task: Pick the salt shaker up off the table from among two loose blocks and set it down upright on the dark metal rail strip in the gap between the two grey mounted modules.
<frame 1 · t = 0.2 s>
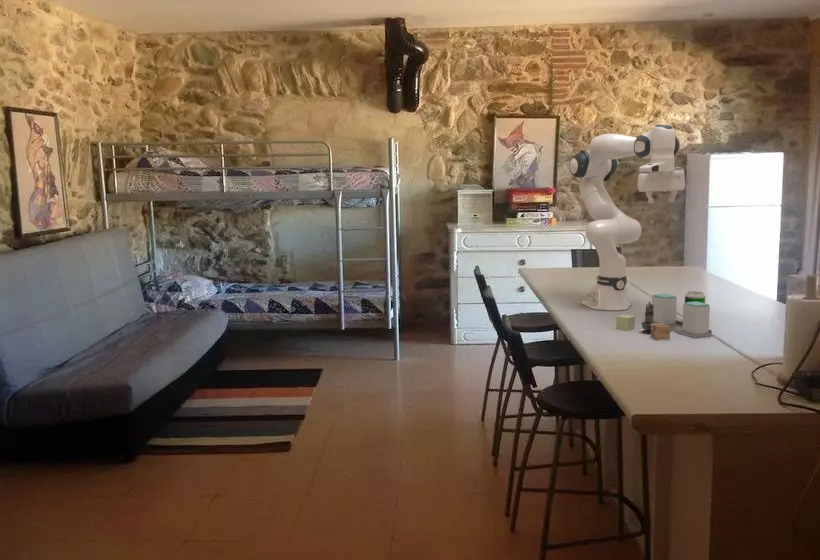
hand: (661, 202, 295), 47 cm above the table, tool pointing down, fingers open, 8 cm apart
block walnut: (660, 338, 275), on the table
rail: (678, 329, 288), on the table
soda can: (693, 322, 300), on the table
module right: (695, 334, 280), resting on rail
block olive: (625, 328, 291), on the table
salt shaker: (648, 333, 284), on the table
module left: (663, 325, 296), resting on rail
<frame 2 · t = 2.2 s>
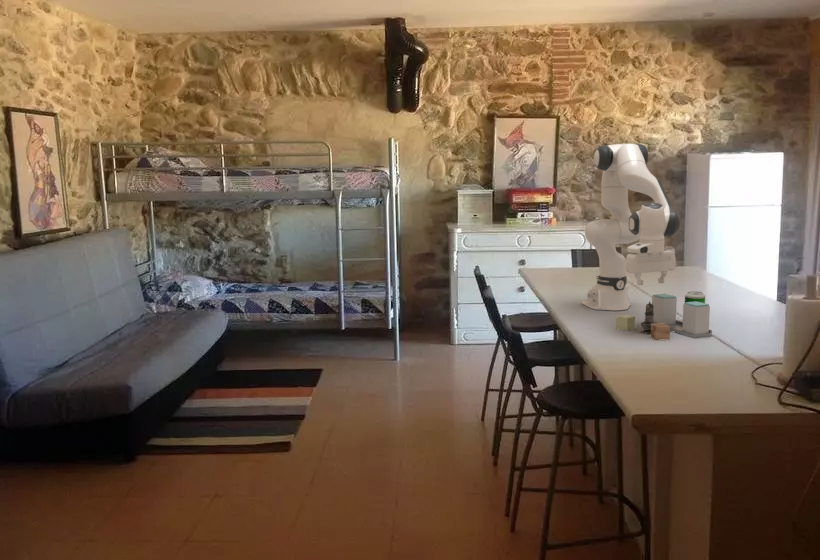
hand: (650, 283, 281), 19 cm above the table, tool pointing down, fingers open, 8 cm apart
nothing on the table moved.
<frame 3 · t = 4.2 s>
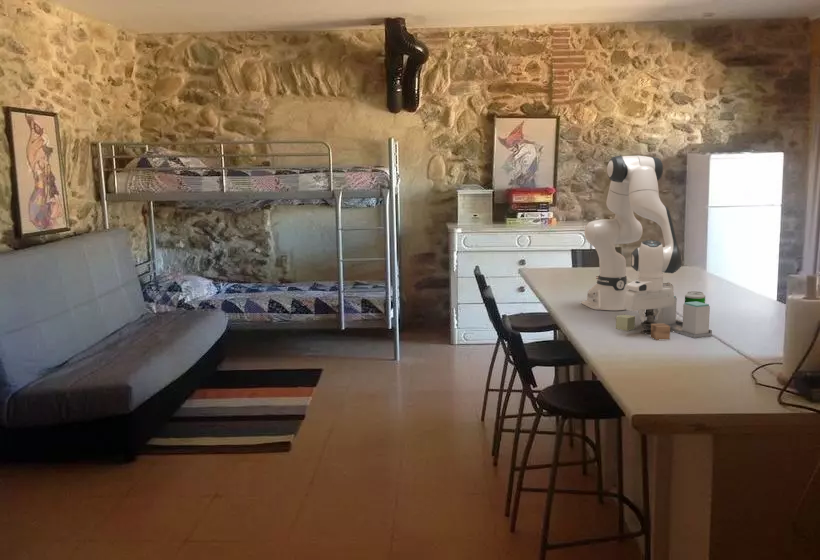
hand: (649, 320, 284), 5 cm above the table, tool pointing down, fingers closed on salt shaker, 3 cm apart
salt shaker: (648, 333, 284), on the table, touching gripper
everything else where it was.
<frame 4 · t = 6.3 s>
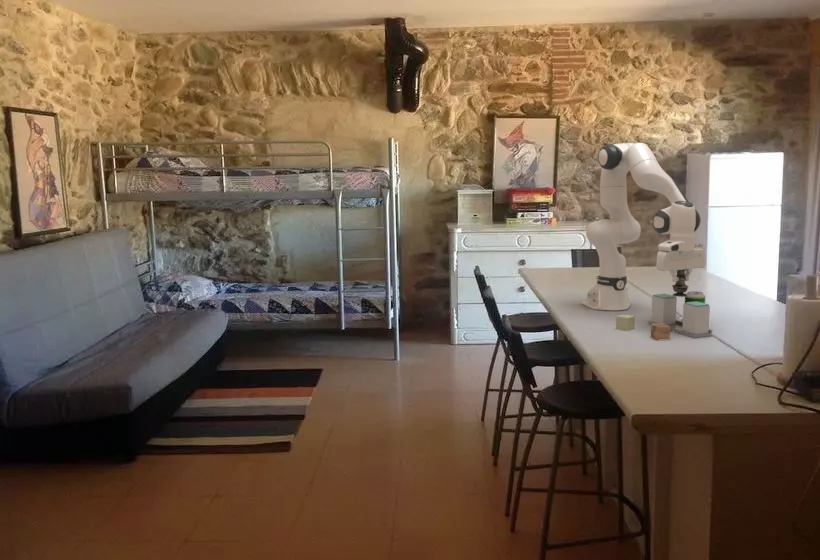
hand: (680, 281, 285), 19 cm above the table, tool pointing down, fingers closed on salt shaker, 3 cm apart
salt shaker: (679, 295, 286), point 13 cm above the table, touching gripper
everything else where it was.
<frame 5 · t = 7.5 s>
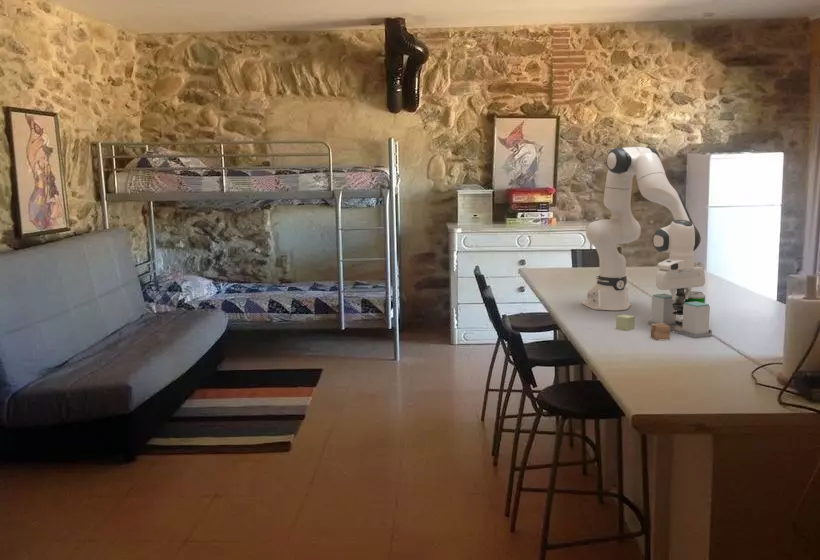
hand: (680, 299, 286), 12 cm above the table, tool pointing down, fingers closed on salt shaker, 3 cm apart
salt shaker: (679, 314, 287), point 6 cm above the table, touching gripper
everything else where it was.
when the fingers open (7 cm above the table, at t = 8.6 s): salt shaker stays where it is, resting on rail.
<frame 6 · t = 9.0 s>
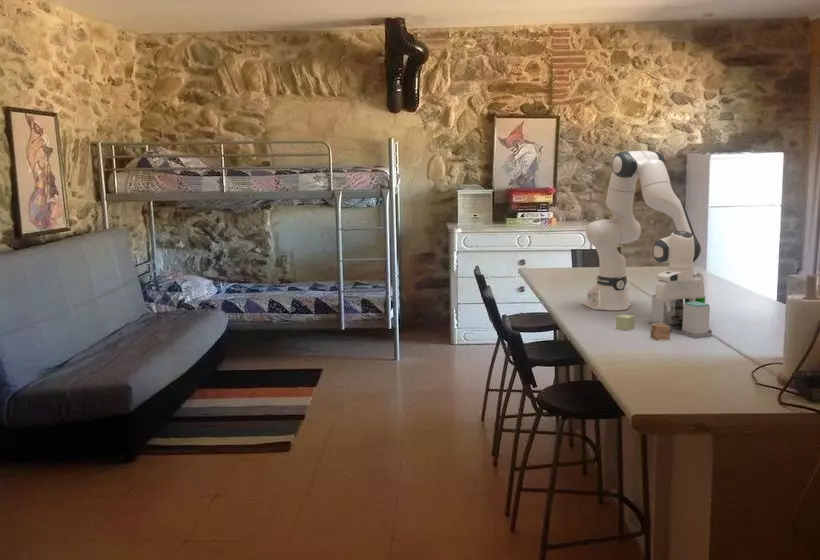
hand: (679, 310, 287), 7 cm above the table, tool pointing down, fingers open, 8 cm apart
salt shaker: (678, 327, 288), point 1 cm above the table, touching rail
everything else where it was.
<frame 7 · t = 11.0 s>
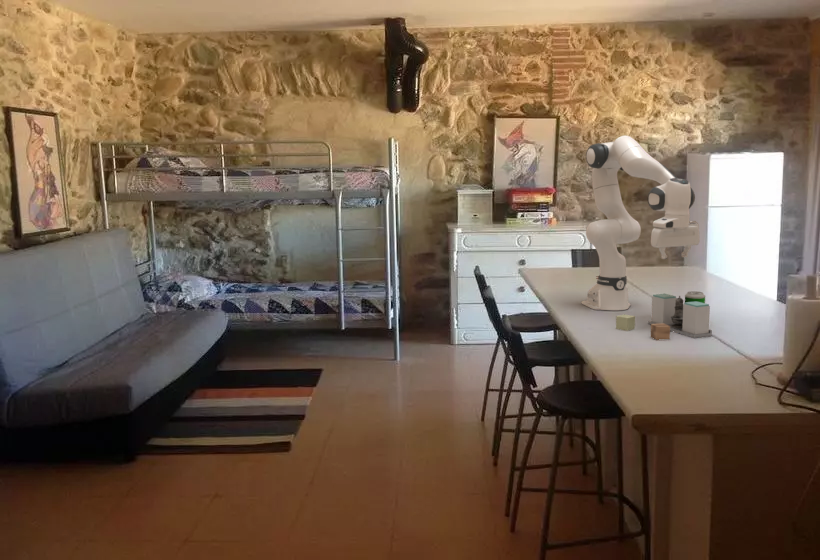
hand: (674, 258, 287), 27 cm above the table, tool pointing down, fingers open, 8 cm apart
nothing on the table moved.
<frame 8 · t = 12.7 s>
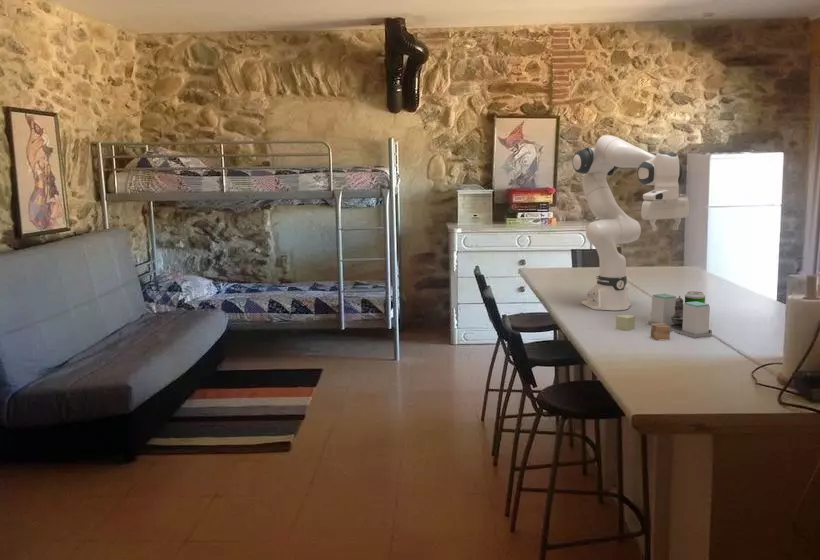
hand: (665, 230, 291), 37 cm above the table, tool pointing down, fingers open, 8 cm apart
nothing on the table moved.
at the end: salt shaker inside the target area (0.5 cm from its centre), point 1.0 cm above the table; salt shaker tilted 0°; the gripper is holding nothing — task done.
